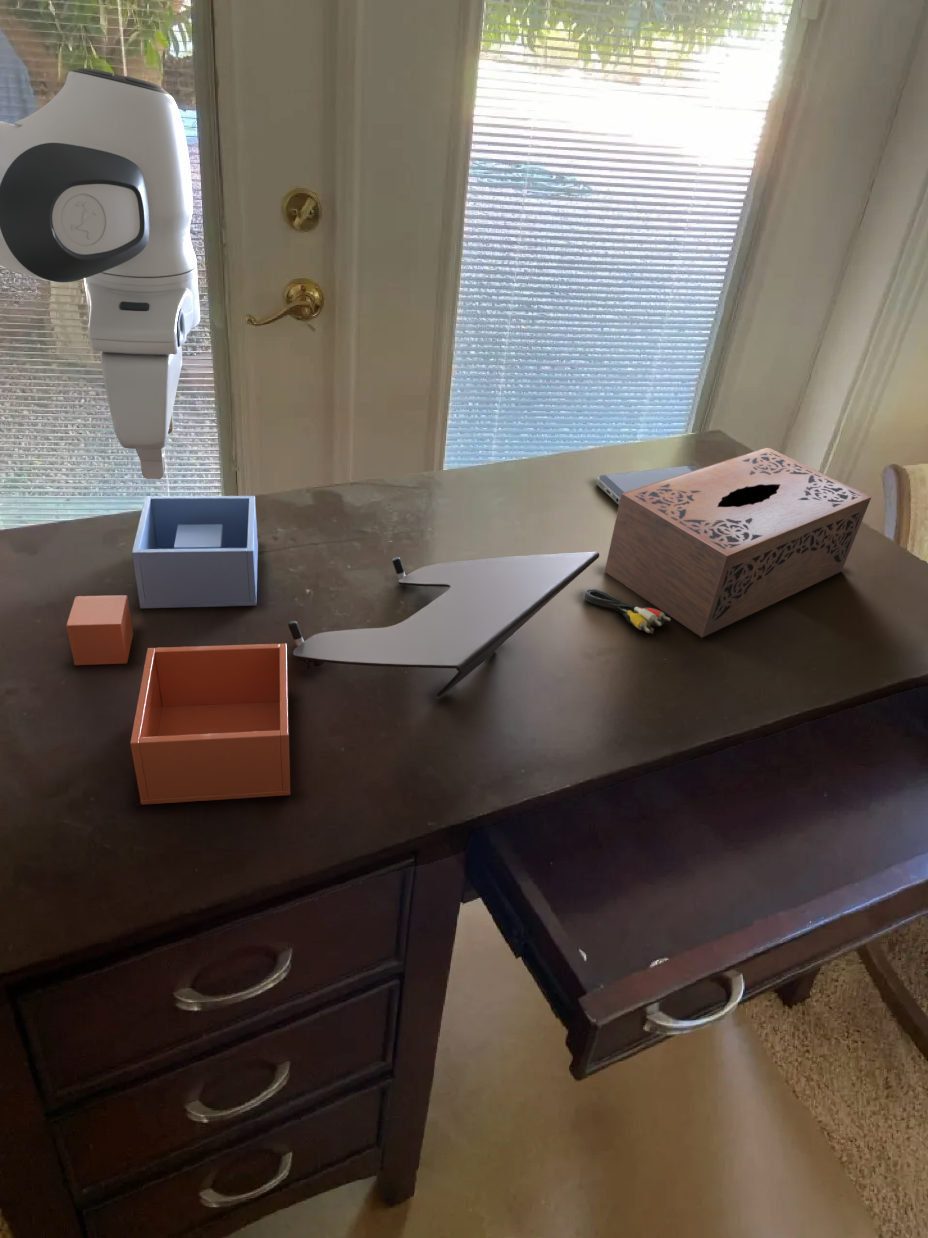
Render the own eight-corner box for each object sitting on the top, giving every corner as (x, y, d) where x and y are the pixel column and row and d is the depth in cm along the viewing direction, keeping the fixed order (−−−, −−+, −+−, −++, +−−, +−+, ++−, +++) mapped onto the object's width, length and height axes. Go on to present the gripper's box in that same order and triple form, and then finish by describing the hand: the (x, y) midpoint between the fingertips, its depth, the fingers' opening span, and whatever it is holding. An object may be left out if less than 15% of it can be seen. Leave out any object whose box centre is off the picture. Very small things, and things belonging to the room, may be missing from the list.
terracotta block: (74, 665, 80) (66, 625, 77) (83, 635, 84) (75, 596, 81) (127, 663, 81) (120, 624, 78) (133, 634, 84) (127, 595, 82)
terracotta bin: (141, 805, 68) (130, 743, 64) (156, 707, 77) (147, 647, 73) (290, 795, 70) (288, 735, 66) (288, 701, 79) (286, 643, 75)
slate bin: (140, 608, 88) (131, 552, 84) (152, 548, 97) (145, 495, 93) (256, 605, 90) (253, 551, 86) (257, 547, 99) (255, 495, 95)
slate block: (178, 584, 91) (173, 547, 88) (181, 561, 94) (177, 524, 92) (223, 584, 92) (220, 546, 89) (225, 560, 95) (222, 524, 92)
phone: (622, 509, 113) (724, 496, 119) (624, 502, 113) (726, 489, 119) (593, 482, 119) (692, 470, 125) (595, 475, 118) (694, 464, 124)
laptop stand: (438, 620, 101) (414, 545, 97) (616, 619, 86) (594, 530, 83) (294, 725, 85) (260, 639, 82) (483, 746, 70) (449, 642, 67)
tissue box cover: (701, 637, 92) (726, 556, 86) (604, 571, 101) (621, 493, 95) (841, 571, 106) (871, 496, 100) (745, 518, 115) (767, 447, 109)
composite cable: (578, 599, 96) (582, 580, 95) (608, 586, 99) (612, 567, 97) (646, 646, 90) (651, 626, 89) (676, 631, 93) (682, 612, 91)
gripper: (119, 263, 81) (135, 406, 89) (84, 337, 65) (107, 504, 73) (191, 267, 83) (201, 408, 90) (174, 341, 66) (187, 504, 74)
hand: (159, 452), depth 82 cm, fingers open, 8 cm apart
